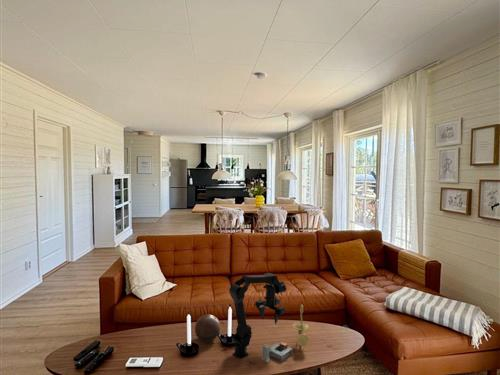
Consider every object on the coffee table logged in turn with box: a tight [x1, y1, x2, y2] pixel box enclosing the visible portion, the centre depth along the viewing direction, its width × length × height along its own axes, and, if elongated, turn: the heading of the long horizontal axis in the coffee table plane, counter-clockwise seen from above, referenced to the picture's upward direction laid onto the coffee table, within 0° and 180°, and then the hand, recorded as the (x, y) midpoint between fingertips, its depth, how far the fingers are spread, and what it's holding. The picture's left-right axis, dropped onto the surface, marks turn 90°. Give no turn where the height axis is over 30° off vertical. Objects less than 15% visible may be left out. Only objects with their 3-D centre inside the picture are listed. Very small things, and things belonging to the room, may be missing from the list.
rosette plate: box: [270, 341, 293, 362], centre depth 173 cm, size 10×10×4 cm
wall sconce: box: [292, 304, 309, 347], centre depth 182 cm, size 14×10×25 cm
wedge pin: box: [261, 343, 271, 363], centre depth 166 cm, size 3×3×8 cm
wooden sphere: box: [194, 314, 221, 343], centre depth 186 cm, size 15×15×15 cm
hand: (269, 321), depth 184 cm, fingers open, 9 cm apart
